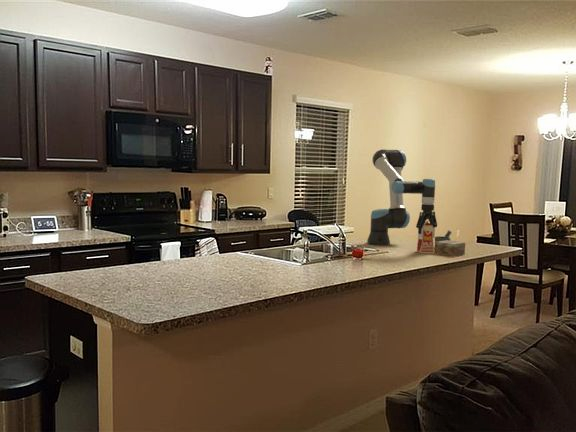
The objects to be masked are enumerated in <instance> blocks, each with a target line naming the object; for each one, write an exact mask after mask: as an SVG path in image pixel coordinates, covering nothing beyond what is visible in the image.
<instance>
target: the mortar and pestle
mask: <svg viewBox="0 0 576 432" xmlns="http://www.w3.org/2000/svg"><path fill="white" fill-rule="evenodd" d="M452 233H453V232H452V231H451V230H450V229H448V230H447V232H446V234H445V235H444V236H441V235H440V236H435V237H434V243H435V242H438V241H445V240H448V241H451V238H450V237H451V235H452Z"/></svg>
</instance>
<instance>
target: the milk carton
mask: <svg viewBox="0 0 576 432" xmlns="http://www.w3.org/2000/svg"><path fill="white" fill-rule="evenodd" d="M422 229H423V239H418V238H417V244H416V245H417V247H416V252H418V253H419V254H430V253H434V252H435V244H434V238H433V225H431V224H430V222H429V220H426V221H425V223H424V225H423V227H422Z"/></svg>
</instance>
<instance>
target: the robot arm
mask: <svg viewBox="0 0 576 432" xmlns="http://www.w3.org/2000/svg"><path fill="white" fill-rule="evenodd" d="M406 163H407V156H406V154H405V152H404V151H402V150H401V149H399V150H398V149H383V148H382V149H379V150H377V151H376V152H375V153H374V154H373V156H372V164H373V166H374V167H375V168H376V169H377V170H379V171H380V172H381V173H382V175H384V177H385V178H386V180H388V187H389V188H388V189H389V203H390V204H389V205H390V206H389V208H377V209H374V210H372V211H371V213H370V232H369V236H368V238H367V241H366V244H367V245H373V246H389V245H391V240H390V236H389V229H405V228H406V227H407V226H408V225H409V223H410V221H411V215H410V212H409V211H407V210H406V209H407V208H406V207H405V206H404V196H403V194H411V195H412V194H413V195H414V194H415V195H416V194H417V195H421V207H420V208H421V209H420V210H421V211H419V216H418V220H417V222H416V224H415V225H416V226H415V228H416V229H418V230H417V231H418V233H417V240H418V239H423V229H422V227H423V225H424V223H425V222H426V221H428V223H429V224H431V225H433V239H435V237H436V236H435V235H436V228H437V226H438V222H437V217H436V211H434V210H435V195H436V194H435V193H436V180H435V179H434V178H423V179H422V181H418V180H417V181H406V180H404V178H403V177H402V171H403V169H404V167H405V166H406Z"/></svg>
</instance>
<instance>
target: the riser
mask: <svg viewBox="0 0 576 432" xmlns="http://www.w3.org/2000/svg"><path fill="white" fill-rule="evenodd" d="M466 245H467V243H466V242H461V241H453V240H450V241H448V240H445V241H438V242H435V241H434V253H435V254H437V253H438V254H437V255H443V254H444V256H448V257H449V256H450V257H455V256H457V255H458V256H463V255H465V254H466V253H465V252H466V251H465V250H466Z"/></svg>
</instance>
